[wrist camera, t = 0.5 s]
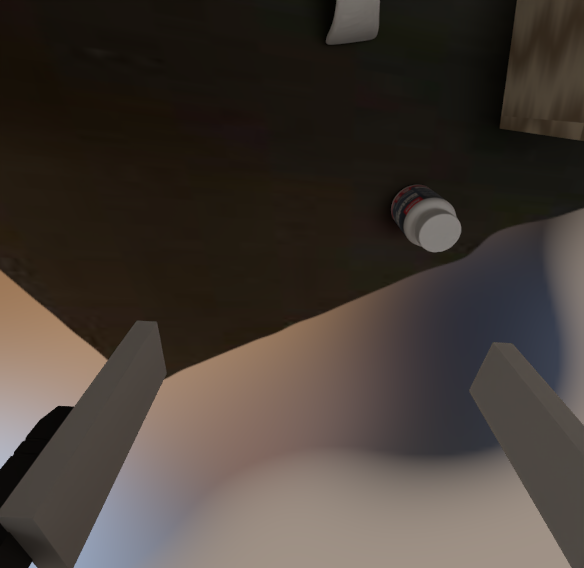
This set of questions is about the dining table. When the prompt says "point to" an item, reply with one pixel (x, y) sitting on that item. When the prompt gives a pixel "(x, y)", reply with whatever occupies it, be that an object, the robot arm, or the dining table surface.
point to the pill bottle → (426, 218)
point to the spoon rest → (354, 21)
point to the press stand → (546, 70)
